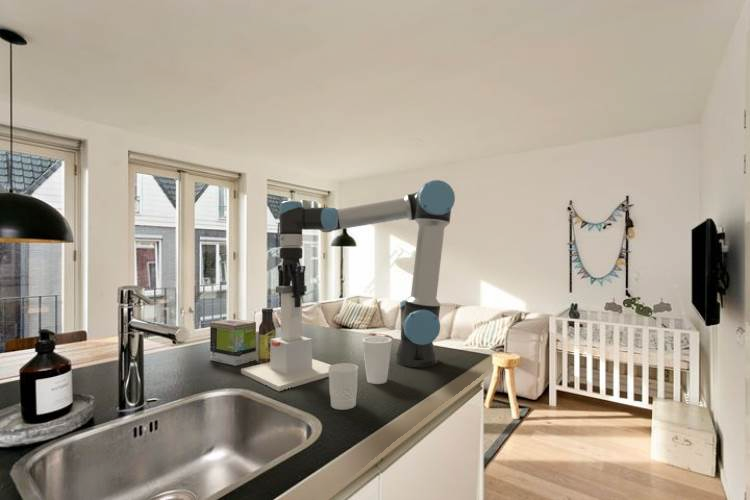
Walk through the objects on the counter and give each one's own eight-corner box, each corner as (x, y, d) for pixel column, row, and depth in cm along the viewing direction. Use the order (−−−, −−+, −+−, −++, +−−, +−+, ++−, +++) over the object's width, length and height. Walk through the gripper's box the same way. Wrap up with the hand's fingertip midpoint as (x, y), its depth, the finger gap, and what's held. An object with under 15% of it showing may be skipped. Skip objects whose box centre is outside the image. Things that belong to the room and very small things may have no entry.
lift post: (307, 350, 129) (306, 285, 129) (283, 355, 122) (283, 287, 123) (298, 347, 133) (298, 284, 133) (275, 352, 126) (275, 286, 126)
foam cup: (395, 377, 123) (395, 337, 123) (387, 387, 114) (386, 344, 114) (368, 374, 126) (368, 335, 126) (357, 383, 117) (357, 341, 117)
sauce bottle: (270, 364, 137) (270, 310, 137) (254, 363, 138) (254, 309, 138) (278, 359, 143) (278, 307, 144) (263, 358, 145) (263, 307, 145)
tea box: (257, 360, 143) (257, 321, 143) (234, 367, 135) (234, 325, 135) (231, 354, 151) (231, 317, 151) (209, 360, 143) (209, 321, 143)
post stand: (341, 372, 128) (341, 338, 128) (278, 391, 110) (278, 352, 111) (300, 358, 144) (300, 328, 145) (241, 373, 127) (241, 339, 127)
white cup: (329, 399, 104) (329, 363, 104) (357, 398, 105) (357, 362, 105) (328, 411, 96) (327, 372, 96) (358, 410, 97) (358, 371, 97)
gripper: (267, 247, 132) (267, 314, 131) (296, 246, 119) (296, 320, 119) (286, 247, 137) (286, 311, 137) (316, 246, 124) (316, 317, 124)
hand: (291, 315), depth 128 cm, fingers closed on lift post, 5 cm apart
